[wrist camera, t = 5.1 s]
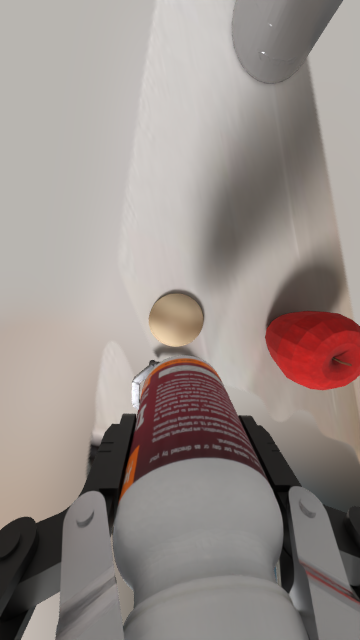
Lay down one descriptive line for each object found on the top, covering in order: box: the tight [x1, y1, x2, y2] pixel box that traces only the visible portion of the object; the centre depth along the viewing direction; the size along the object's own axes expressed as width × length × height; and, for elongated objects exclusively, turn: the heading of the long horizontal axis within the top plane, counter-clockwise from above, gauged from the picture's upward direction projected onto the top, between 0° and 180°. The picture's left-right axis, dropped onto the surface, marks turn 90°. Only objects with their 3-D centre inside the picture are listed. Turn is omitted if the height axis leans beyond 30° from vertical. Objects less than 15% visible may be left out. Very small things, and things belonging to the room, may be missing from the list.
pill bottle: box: [113, 355, 309, 640], centre depth 9 cm, size 6×6×11 cm
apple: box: [265, 311, 360, 390], centre depth 22 cm, size 10×10×11 cm
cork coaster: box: [149, 294, 203, 347], centre depth 25 cm, size 8×8×1 cm
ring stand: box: [132, 360, 160, 410], centre depth 27 cm, size 10×10×2 cm
